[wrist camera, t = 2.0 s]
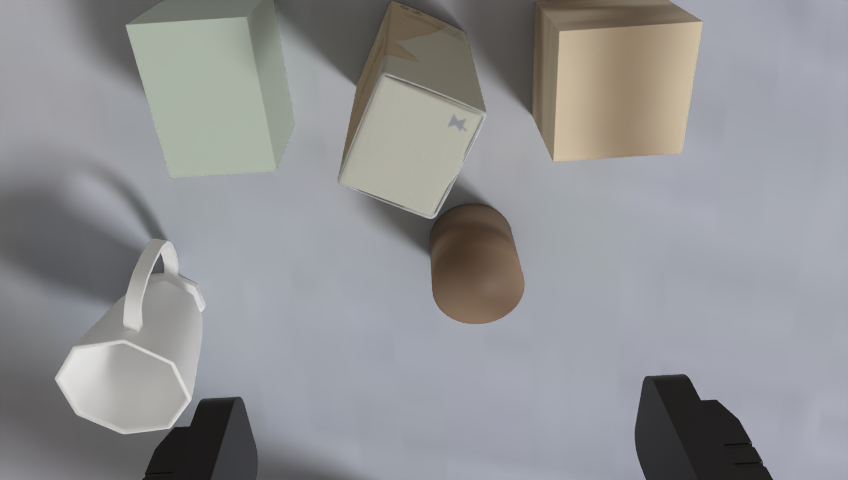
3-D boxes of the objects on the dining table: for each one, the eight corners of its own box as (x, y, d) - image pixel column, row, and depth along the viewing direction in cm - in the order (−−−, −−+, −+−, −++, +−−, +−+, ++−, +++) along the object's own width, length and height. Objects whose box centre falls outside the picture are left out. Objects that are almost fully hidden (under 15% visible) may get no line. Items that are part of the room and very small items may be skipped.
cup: (113, 331, 43) (56, 426, 36) (112, 199, 38) (46, 280, 31) (222, 349, 44) (187, 444, 37) (235, 223, 39) (198, 306, 32)
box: (391, -3, 32) (384, 62, 23) (469, 32, 33) (494, 109, 24) (353, 92, 35) (333, 186, 25) (427, 122, 36) (435, 224, 26)
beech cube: (531, 115, 36) (553, 161, 30) (535, 1, 32) (559, 31, 27) (641, 108, 36) (681, 153, 30) (655, -8, 32) (702, 21, 27)
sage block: (204, 129, 36) (170, 177, 30) (170, -5, 32) (125, 25, 27) (295, 123, 36) (276, 171, 30) (271, -12, 32) (246, 16, 27)
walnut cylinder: (457, 286, 41) (463, 337, 37) (413, 230, 39) (414, 278, 35) (526, 248, 40) (540, 297, 36) (485, 188, 38) (495, 233, 34)
